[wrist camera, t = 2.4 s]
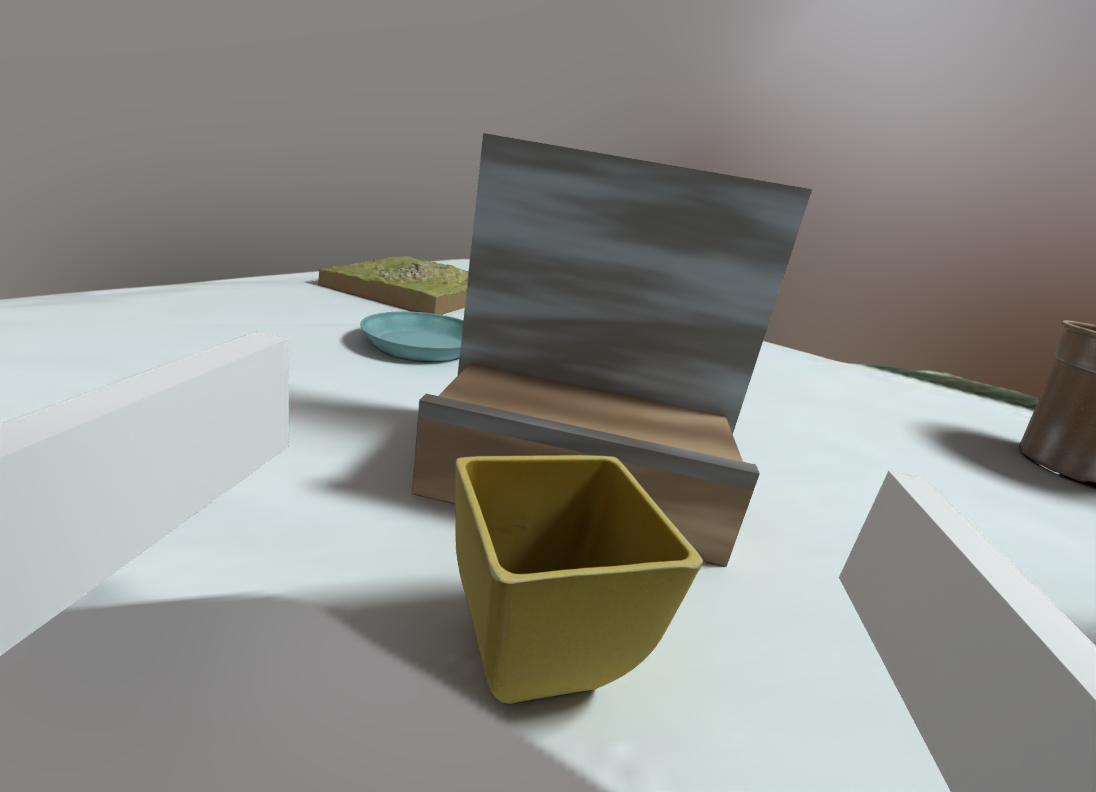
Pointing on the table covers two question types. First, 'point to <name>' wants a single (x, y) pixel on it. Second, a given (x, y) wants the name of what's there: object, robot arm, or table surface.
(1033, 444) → the plant pot
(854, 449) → the table surface
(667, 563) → the flower pot
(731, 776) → the table surface
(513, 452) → the book stand
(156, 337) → the table surface
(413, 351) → the saucer
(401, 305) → the miniature landscape model
